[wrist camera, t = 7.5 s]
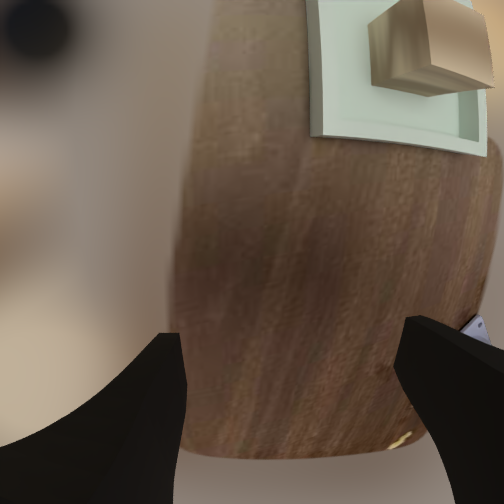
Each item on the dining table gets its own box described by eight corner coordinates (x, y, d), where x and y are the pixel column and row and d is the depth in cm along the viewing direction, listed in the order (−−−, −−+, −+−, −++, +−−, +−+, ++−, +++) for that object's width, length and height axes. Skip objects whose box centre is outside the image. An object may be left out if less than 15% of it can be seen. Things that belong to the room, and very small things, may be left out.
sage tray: (462, 154, 17) (486, 157, 15) (309, 136, 16) (323, 134, 14) (451, 10, 14) (471, 1, 11) (303, -30, 13) (313, -49, 10)
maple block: (427, 97, 15) (494, 87, 10) (371, 85, 15) (431, 64, 9) (423, 39, 14) (483, 15, 8) (367, 24, 14) (419, -14, 8)
